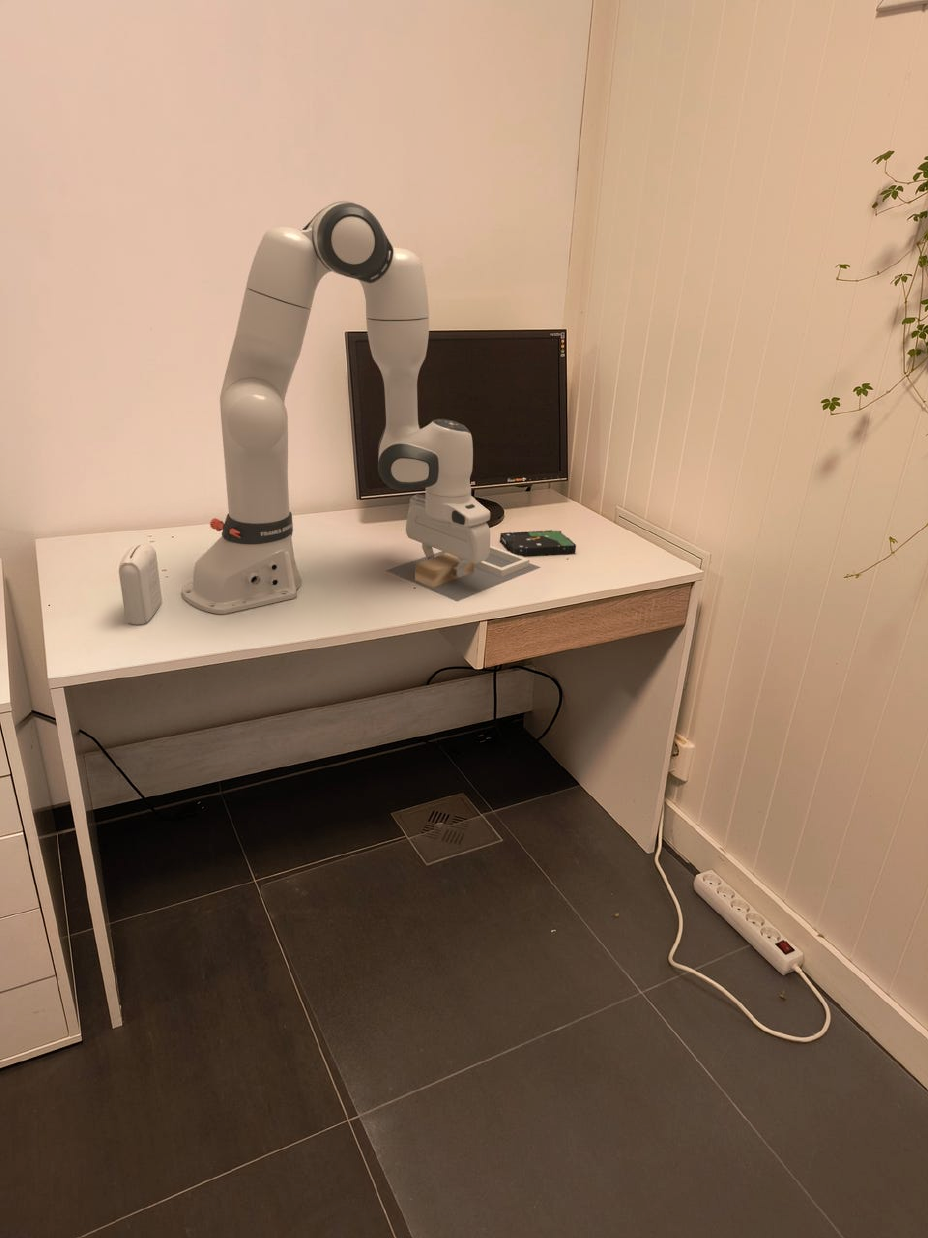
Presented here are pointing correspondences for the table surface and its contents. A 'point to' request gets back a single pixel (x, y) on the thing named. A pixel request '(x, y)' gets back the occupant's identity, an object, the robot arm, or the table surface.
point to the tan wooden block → (439, 570)
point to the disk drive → (537, 543)
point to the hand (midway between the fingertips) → (444, 570)
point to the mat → (474, 574)
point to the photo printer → (140, 583)
